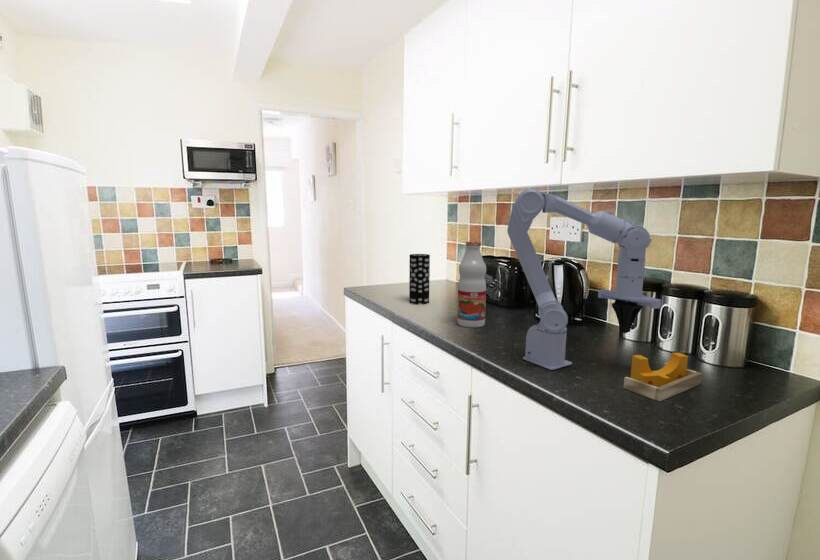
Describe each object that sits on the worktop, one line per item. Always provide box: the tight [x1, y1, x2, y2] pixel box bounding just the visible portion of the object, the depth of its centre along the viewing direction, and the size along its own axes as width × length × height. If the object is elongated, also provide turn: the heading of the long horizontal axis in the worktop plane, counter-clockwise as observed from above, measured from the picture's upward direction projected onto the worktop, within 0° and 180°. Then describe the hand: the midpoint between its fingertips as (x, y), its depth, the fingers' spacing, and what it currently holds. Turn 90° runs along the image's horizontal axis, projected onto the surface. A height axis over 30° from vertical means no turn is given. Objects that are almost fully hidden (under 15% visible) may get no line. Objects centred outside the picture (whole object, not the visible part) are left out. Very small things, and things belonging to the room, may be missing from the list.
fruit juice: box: [456, 241, 487, 328], centre depth 143 cm, size 9×9×28 cm
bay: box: [623, 362, 703, 402], centre depth 95 cm, size 8×17×2 cm, turn 122°
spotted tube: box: [408, 253, 431, 305], centre depth 177 cm, size 8×8×20 cm
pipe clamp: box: [629, 352, 689, 387], centre depth 96 cm, size 12×4×6 cm, turn 100°
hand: (624, 331), depth 103 cm, fingers closed
